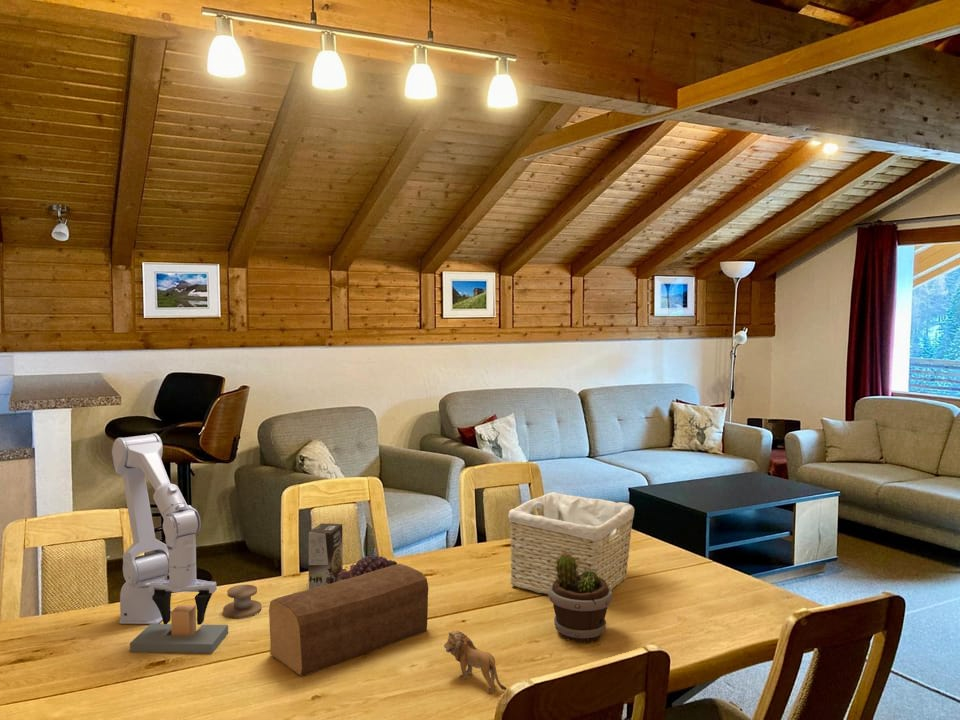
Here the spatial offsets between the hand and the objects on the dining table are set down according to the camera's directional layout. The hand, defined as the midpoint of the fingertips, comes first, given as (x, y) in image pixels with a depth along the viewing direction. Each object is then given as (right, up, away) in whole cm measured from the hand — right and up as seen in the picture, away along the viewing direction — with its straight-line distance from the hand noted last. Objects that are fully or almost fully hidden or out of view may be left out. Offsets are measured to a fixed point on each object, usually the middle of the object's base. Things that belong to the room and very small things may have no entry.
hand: (183, 622), depth 173 cm
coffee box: (+26, -2, +33) cm, 42 cm away
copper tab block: (0, -4, 0) cm, 4 cm away
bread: (+38, -5, -1) cm, 39 cm away
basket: (+92, -2, +36) cm, 99 cm away
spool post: (+8, -3, +16) cm, 18 cm away
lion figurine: (+66, -6, -18) cm, 68 cm away
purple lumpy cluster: (+39, -2, +28) cm, 48 cm away
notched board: (0, -4, -2) cm, 4 cm away
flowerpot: (+90, -4, +5) cm, 90 cm away
